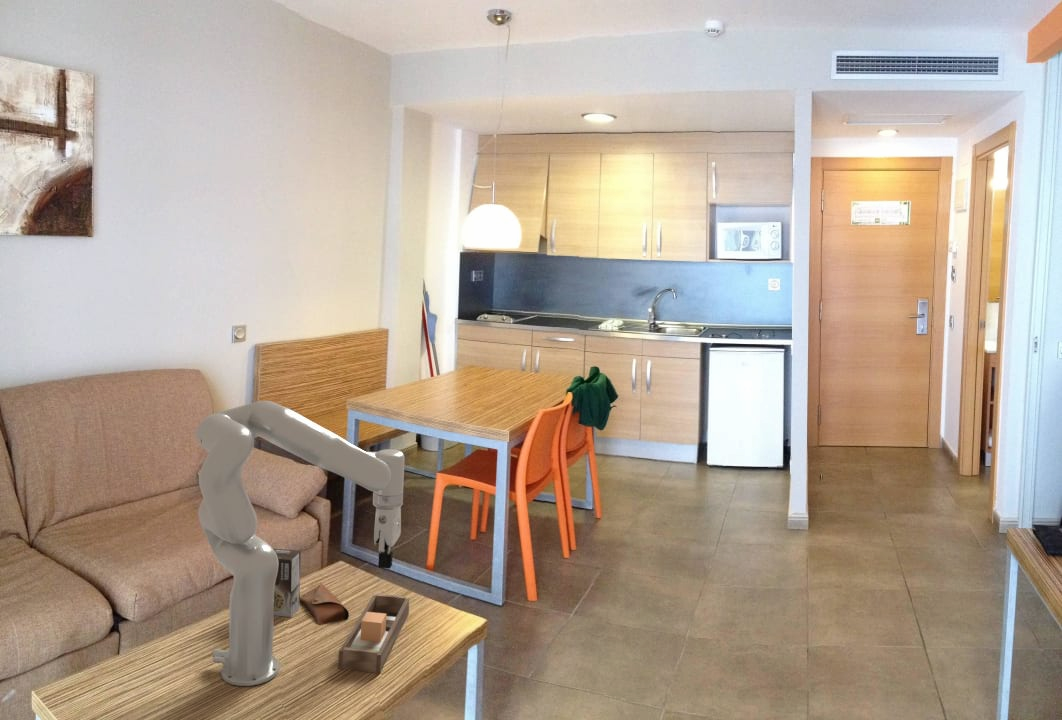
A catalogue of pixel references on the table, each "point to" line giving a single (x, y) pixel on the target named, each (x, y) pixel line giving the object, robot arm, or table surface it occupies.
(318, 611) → the sunglasses case
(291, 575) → the coffee box
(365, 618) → the block
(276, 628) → the table surface
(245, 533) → the robot arm
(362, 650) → the trap box
